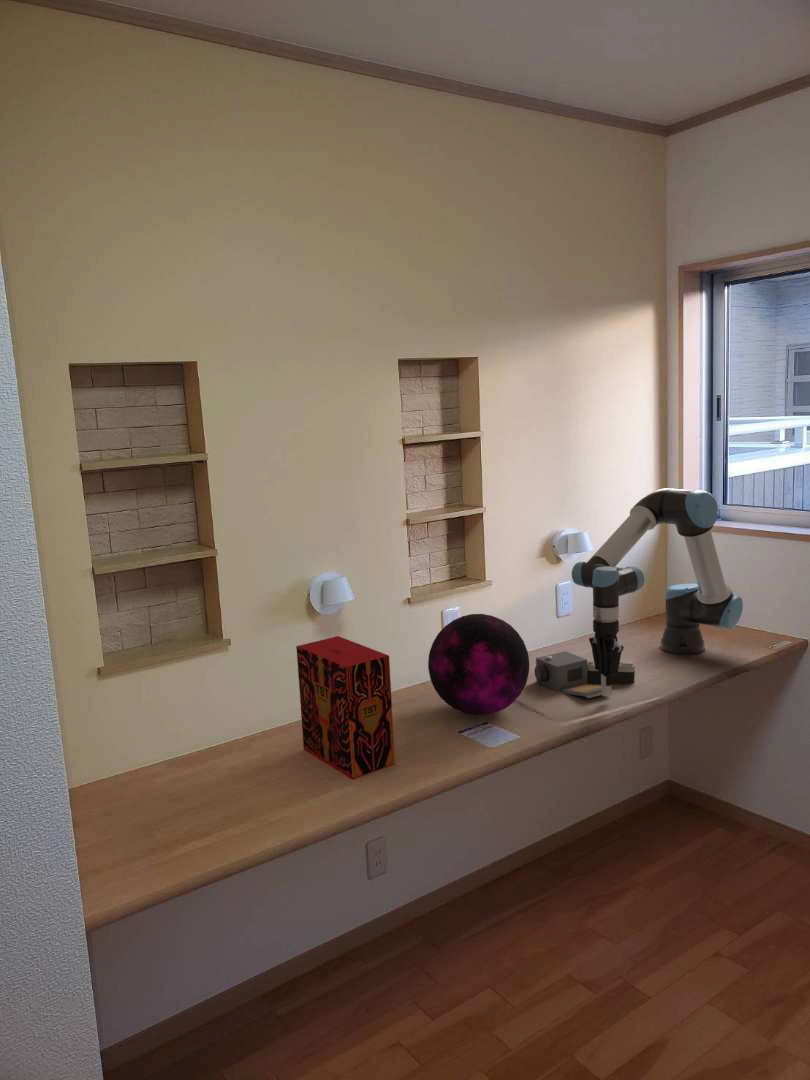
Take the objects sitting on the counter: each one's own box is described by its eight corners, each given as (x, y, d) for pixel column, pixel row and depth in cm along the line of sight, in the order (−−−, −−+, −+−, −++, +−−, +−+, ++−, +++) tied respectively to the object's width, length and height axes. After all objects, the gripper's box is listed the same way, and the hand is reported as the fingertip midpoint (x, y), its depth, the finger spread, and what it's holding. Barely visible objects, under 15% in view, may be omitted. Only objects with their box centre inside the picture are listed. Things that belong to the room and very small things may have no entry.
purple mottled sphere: (409, 716, 266) (405, 619, 261) (472, 687, 287) (469, 598, 282) (489, 740, 246) (486, 636, 240) (550, 707, 267) (548, 611, 262)
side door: (585, 682, 283) (611, 686, 271) (586, 688, 283) (612, 692, 271) (560, 689, 278) (585, 693, 267) (561, 694, 278) (586, 698, 267)
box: (303, 750, 245) (296, 646, 240) (344, 736, 253) (338, 635, 247) (352, 779, 225) (345, 667, 220) (394, 764, 233) (389, 655, 228)
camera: (632, 682, 289) (633, 652, 288) (636, 690, 280) (637, 659, 279) (582, 680, 291) (583, 651, 290) (585, 688, 282) (586, 657, 281)
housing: (565, 677, 293) (565, 648, 291) (587, 686, 283) (587, 657, 282) (532, 685, 287) (531, 656, 285) (553, 695, 277) (553, 665, 276)
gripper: (581, 616, 266) (582, 691, 270) (610, 626, 255) (611, 703, 259) (601, 612, 269) (601, 686, 274) (630, 621, 258) (630, 698, 262)
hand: (606, 694), depth 266 cm, fingers closed
